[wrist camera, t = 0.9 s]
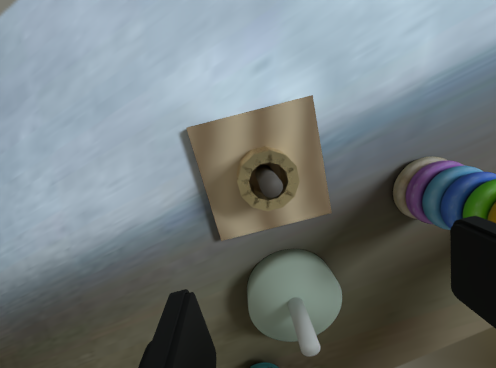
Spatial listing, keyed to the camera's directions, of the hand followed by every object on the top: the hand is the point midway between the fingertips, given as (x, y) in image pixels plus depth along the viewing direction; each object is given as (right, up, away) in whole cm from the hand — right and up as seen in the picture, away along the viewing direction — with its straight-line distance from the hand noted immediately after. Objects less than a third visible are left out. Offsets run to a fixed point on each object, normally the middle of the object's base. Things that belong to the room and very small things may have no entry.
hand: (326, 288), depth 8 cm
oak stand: (-1, +5, +19) cm, 20 cm away
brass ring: (-1, +5, +18) cm, 19 cm away
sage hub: (+3, -11, +24) cm, 26 cm away
